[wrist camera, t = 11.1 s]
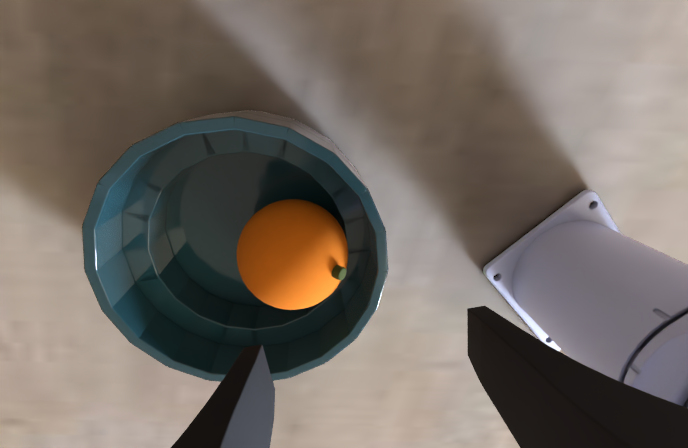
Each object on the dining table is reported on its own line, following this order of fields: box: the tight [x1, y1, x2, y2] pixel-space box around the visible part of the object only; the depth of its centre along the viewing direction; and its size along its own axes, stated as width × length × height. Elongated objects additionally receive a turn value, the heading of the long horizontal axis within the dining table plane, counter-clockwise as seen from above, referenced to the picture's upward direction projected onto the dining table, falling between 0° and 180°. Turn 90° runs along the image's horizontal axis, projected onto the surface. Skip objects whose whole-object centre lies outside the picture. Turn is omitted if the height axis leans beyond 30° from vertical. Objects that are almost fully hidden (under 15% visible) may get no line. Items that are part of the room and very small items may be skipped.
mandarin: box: [237, 199, 348, 310], centre depth 17 cm, size 5×5×6 cm
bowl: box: [82, 110, 388, 382], centre depth 18 cm, size 13×13×5 cm
